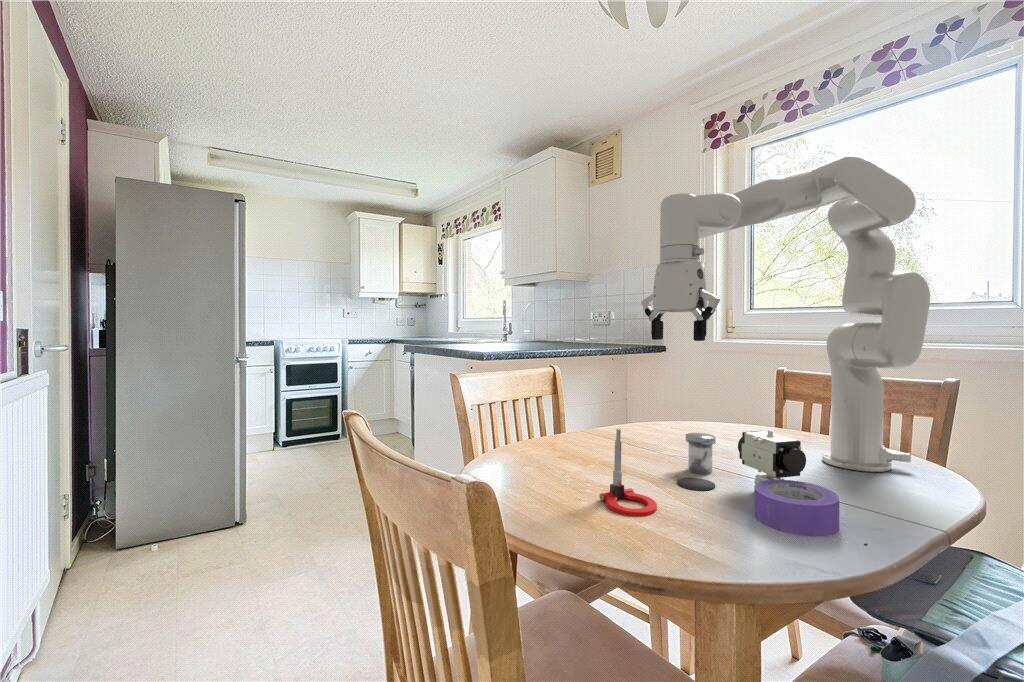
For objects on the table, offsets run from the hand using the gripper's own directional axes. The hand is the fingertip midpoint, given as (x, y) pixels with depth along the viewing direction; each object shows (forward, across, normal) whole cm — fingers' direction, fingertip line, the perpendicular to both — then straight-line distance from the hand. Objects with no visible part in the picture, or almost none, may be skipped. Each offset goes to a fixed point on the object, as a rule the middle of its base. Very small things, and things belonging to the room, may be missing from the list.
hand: (677, 340), depth 99 cm
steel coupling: (+28, -1, -8) cm, 29 cm away
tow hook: (+29, -4, +20) cm, 36 cm away
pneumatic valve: (+28, -17, -4) cm, 33 cm away
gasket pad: (+28, -6, +1) cm, 29 cm away
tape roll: (+29, -25, +5) cm, 38 cm away
